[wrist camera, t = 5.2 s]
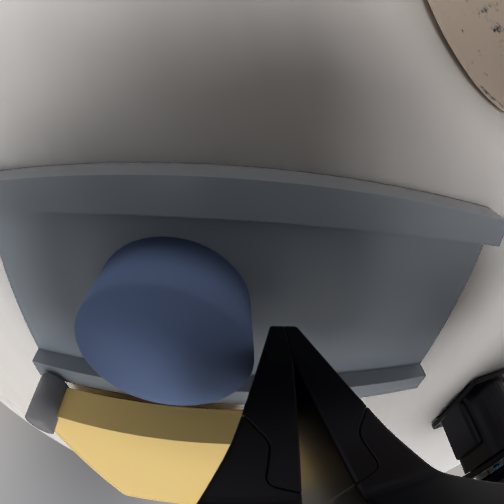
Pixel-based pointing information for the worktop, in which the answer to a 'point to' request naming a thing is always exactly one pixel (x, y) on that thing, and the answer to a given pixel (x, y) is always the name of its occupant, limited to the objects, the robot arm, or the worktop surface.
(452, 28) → the teacup with lid
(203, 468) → the cover
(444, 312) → the grey flanged channel
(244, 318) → the blue rounded dome
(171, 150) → the worktop surface
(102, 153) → the worktop surface
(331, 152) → the worktop surface
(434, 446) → the worktop surface
